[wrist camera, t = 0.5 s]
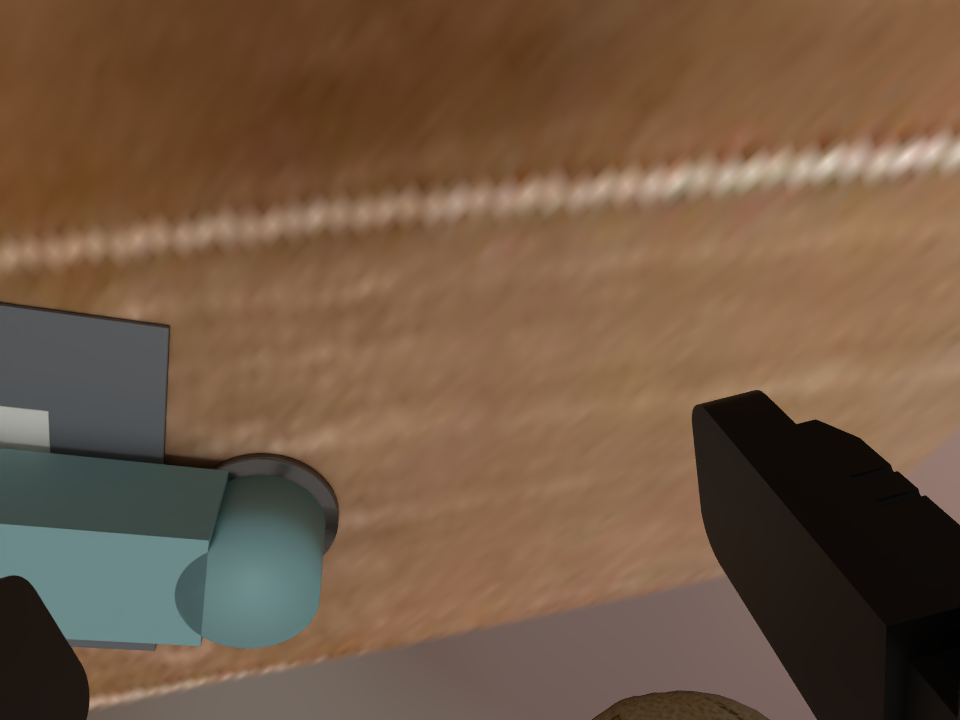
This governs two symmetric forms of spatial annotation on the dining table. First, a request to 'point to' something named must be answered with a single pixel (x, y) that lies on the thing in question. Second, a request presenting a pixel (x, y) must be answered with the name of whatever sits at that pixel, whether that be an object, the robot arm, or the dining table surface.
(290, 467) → the pivot base
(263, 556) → the block
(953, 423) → the dining table surface
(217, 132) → the dining table surface
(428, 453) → the dining table surface
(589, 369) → the dining table surface
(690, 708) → the cantaloupe
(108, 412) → the label panel
